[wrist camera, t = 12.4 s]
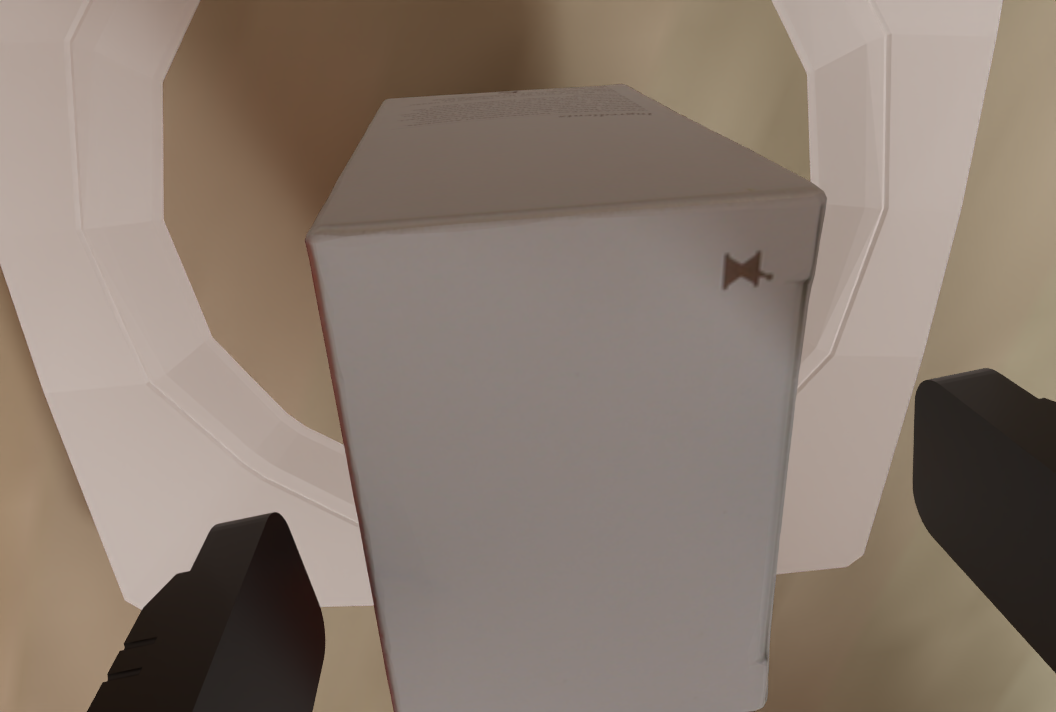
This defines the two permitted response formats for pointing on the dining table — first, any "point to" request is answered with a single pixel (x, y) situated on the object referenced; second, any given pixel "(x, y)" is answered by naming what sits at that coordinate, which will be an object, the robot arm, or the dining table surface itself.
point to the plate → (320, 462)
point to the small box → (566, 396)
